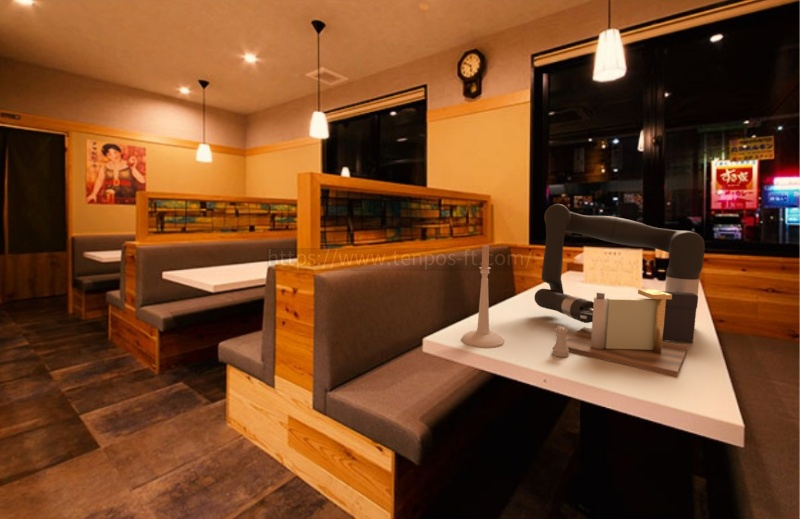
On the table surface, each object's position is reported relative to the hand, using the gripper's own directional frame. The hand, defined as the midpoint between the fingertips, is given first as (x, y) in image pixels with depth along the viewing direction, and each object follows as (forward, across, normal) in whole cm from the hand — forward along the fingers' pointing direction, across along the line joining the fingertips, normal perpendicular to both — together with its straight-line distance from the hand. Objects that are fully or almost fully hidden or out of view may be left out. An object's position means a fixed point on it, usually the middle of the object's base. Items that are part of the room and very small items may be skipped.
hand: (619, 323), depth 112 cm
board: (+3, -1, +7) cm, 8 cm away
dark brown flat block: (-1, +20, +7) cm, 21 cm away
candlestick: (-13, -37, +7) cm, 40 cm away
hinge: (+5, -3, +5) cm, 8 cm away
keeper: (+7, +4, +7) cm, 11 cm away
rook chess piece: (+2, -21, +7) cm, 23 cm away
